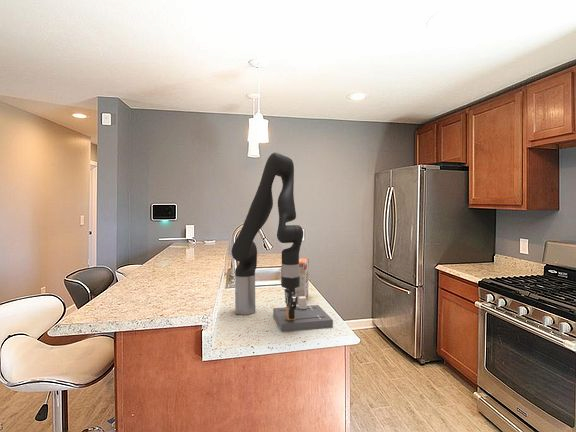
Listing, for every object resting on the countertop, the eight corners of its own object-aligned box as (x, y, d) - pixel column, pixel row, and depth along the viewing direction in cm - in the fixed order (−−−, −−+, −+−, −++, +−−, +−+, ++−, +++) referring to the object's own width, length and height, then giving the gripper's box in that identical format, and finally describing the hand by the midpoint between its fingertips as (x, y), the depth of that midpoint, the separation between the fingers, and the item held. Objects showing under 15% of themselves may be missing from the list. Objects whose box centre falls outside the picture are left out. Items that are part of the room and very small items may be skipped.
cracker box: (305, 304, 160) (305, 262, 159) (293, 303, 161) (293, 262, 160) (309, 296, 173) (309, 257, 173) (298, 295, 175) (298, 257, 174)
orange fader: (287, 320, 128) (287, 308, 128) (286, 317, 131) (286, 306, 131) (295, 319, 129) (295, 307, 129) (293, 317, 132) (293, 305, 132)
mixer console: (281, 331, 125) (281, 323, 125) (273, 314, 145) (273, 307, 145) (332, 327, 130) (332, 319, 129) (318, 311, 149) (318, 304, 149)
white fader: (300, 309, 142) (299, 298, 141) (298, 307, 144) (298, 296, 144) (306, 308, 142) (306, 298, 142) (304, 306, 145) (304, 296, 145)
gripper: (278, 271, 135) (278, 312, 136) (284, 279, 122) (285, 324, 122) (295, 270, 137) (295, 310, 138) (303, 278, 123) (304, 322, 124)
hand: (290, 316), depth 130 cm, fingers closed on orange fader, 3 cm apart
